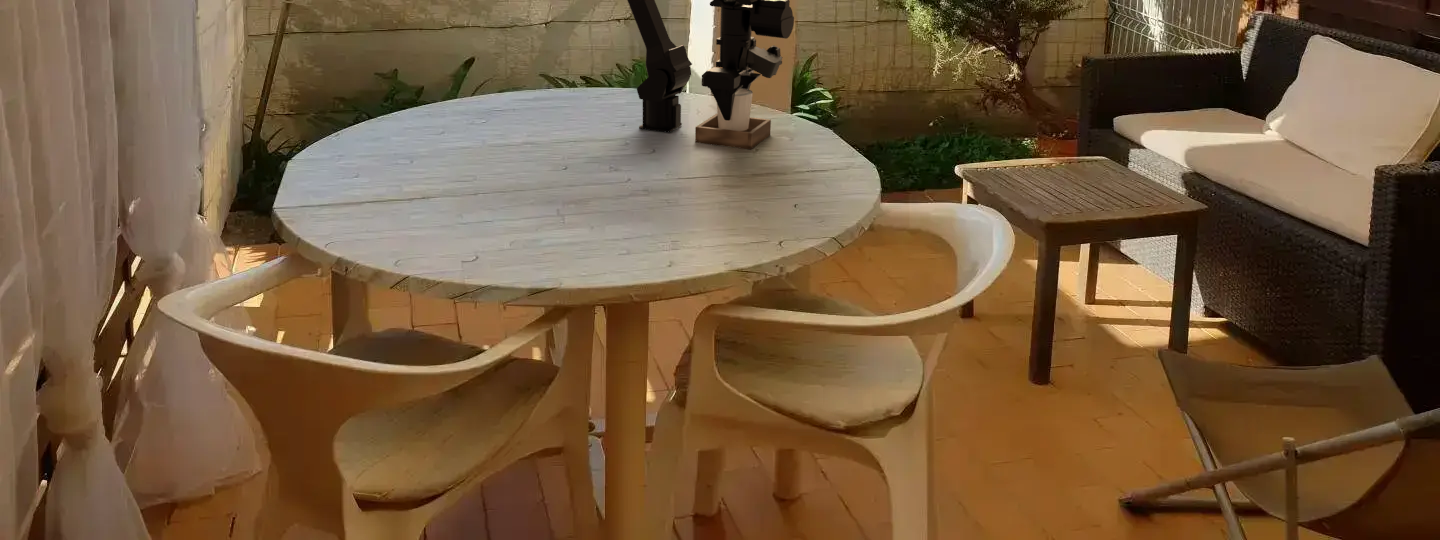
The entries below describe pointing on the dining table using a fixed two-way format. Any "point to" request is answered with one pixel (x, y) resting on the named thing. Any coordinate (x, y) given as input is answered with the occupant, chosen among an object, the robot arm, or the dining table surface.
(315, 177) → the dining table surface
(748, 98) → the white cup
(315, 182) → the dining table surface
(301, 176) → the dining table surface
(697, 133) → the walnut crate
